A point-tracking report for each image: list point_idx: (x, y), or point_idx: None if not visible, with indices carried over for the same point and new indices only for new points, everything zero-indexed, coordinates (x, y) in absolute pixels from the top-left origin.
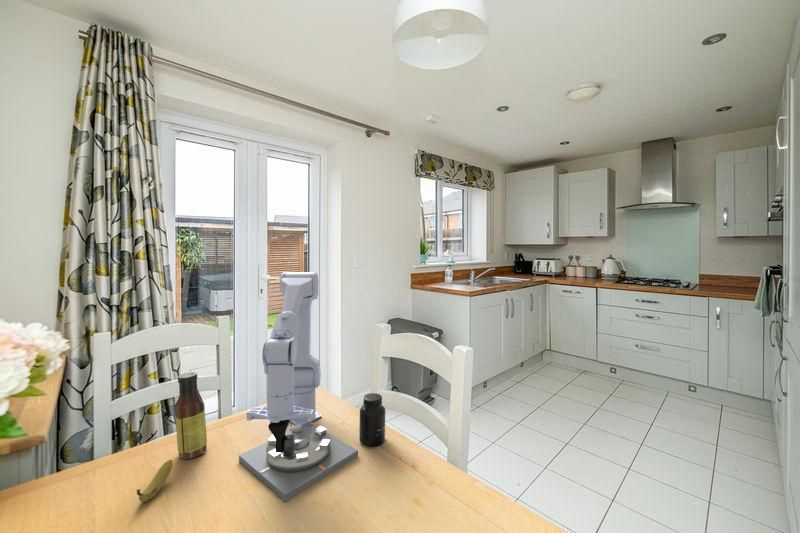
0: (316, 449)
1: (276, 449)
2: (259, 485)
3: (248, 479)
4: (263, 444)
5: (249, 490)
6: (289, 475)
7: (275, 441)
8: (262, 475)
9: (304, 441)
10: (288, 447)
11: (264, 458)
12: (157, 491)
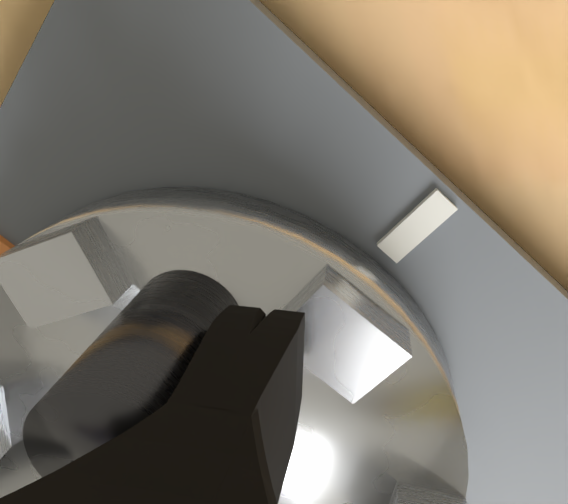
0: (24, 382)
1: (283, 325)
2: (431, 109)
3: (548, 184)
4: None
5: (504, 44)
6: (186, 156)
7: (261, 390)
8: (422, 162)
9: None
10: (122, 327)
11: (465, 372)
12: None
